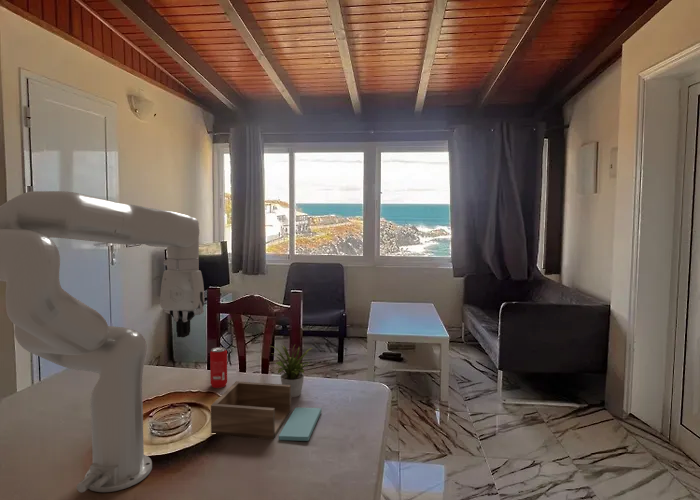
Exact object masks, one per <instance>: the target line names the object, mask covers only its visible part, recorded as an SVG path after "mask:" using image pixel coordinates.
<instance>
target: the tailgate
mask: <svg viewBox="0 0 700 500" xmlns="http://www.w3.org/2000/svg"><path fill="white" fill-rule="evenodd" d="M291 412H292V413H291V414H290V415H289V418H288V419H287V421H286V423H285V424H284V426H283V428H281V429H282V430H281V432H280V433H279V434H278V441H294V442H295V441H298V442H300V441H301V442H309V441H310V438H311V436H312V434H313V431H314V429H315V427H316V424H317V422H318V421H319V418H320V416H321V413H322V408H321V407H295V408H294V409H293V411H291Z"/></svg>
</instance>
